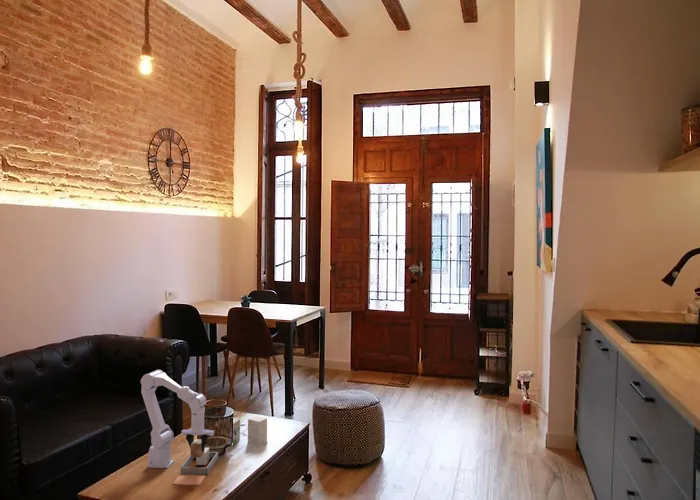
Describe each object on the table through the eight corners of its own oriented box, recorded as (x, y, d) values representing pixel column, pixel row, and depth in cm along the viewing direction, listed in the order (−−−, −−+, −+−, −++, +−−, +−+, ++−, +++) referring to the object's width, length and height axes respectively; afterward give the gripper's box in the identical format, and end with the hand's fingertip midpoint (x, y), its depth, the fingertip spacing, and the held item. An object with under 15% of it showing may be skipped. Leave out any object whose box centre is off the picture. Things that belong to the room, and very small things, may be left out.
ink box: (233, 446, 280) (233, 423, 279) (224, 445, 281) (224, 422, 280) (240, 439, 288) (240, 417, 288) (231, 439, 289) (231, 416, 289)
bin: (180, 473, 247) (180, 467, 247) (193, 457, 265) (193, 451, 265) (207, 474, 247) (207, 468, 247) (218, 458, 265) (218, 452, 265)
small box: (267, 442, 285) (267, 418, 284) (259, 446, 279) (259, 421, 279) (255, 439, 289) (255, 415, 289) (247, 443, 284) (247, 418, 283)
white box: (196, 464, 257) (196, 452, 257) (200, 459, 263) (200, 447, 263) (205, 465, 257) (205, 452, 257) (209, 459, 263) (209, 447, 263)
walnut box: (190, 457, 249) (190, 443, 249) (194, 451, 255) (194, 438, 255) (200, 457, 249) (200, 444, 248) (204, 452, 255) (204, 439, 254)
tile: (172, 484, 237) (172, 483, 237) (179, 475, 246) (179, 474, 246) (199, 485, 236) (199, 484, 236) (206, 476, 245) (206, 475, 245)
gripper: (179, 424, 247) (179, 453, 248) (210, 424, 247) (210, 454, 247) (184, 418, 255) (184, 447, 255) (215, 419, 254) (215, 448, 254)
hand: (197, 450), depth 252 cm, fingers closed on walnut box, 4 cm apart
